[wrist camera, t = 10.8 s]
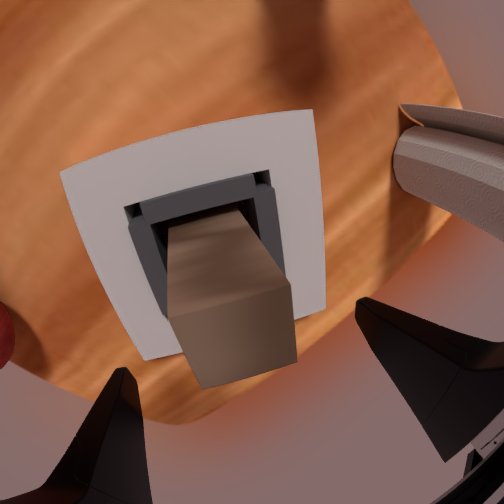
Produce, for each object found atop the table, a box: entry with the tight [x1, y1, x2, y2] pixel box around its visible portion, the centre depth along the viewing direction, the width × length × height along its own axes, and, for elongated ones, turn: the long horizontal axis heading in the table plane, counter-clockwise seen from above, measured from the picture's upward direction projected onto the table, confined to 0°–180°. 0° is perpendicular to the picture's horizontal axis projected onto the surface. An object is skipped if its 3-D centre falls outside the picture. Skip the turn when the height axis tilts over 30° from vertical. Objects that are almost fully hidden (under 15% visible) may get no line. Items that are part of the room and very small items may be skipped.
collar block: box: [59, 109, 326, 361], centre depth 17 cm, size 14×14×3 cm
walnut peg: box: [167, 202, 297, 390], centre depth 14 cm, size 4×4×10 cm
